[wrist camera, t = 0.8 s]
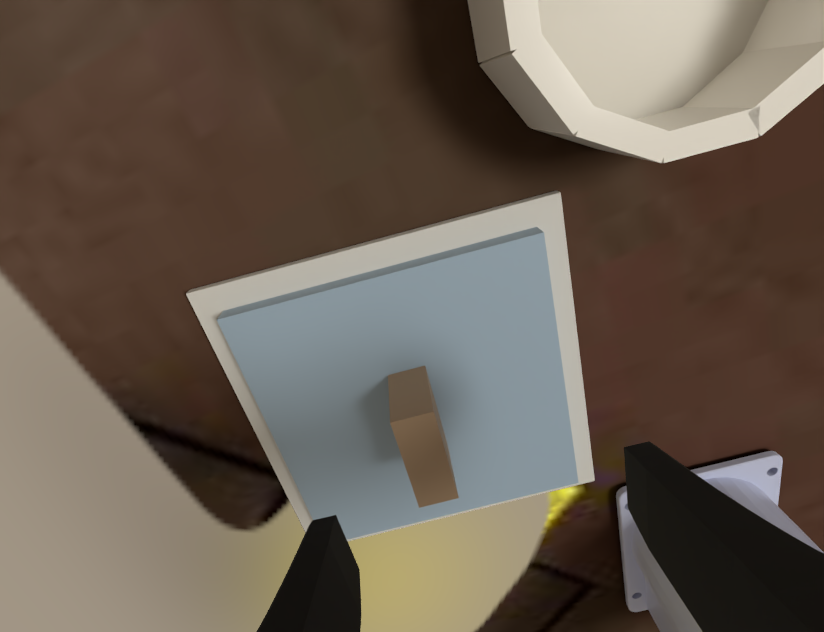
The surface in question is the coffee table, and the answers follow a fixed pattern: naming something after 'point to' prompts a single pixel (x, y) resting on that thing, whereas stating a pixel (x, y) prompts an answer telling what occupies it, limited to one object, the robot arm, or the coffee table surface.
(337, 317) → the cover
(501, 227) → the mat
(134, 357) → the coffee table surface
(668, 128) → the bowl
